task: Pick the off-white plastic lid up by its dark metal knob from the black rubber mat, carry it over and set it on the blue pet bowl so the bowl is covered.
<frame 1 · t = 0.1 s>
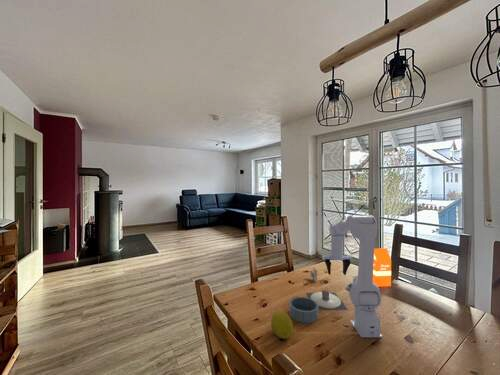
hand: (336, 274, 114), 10 cm above the table, fingers open, 7 cm apart
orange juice: (379, 283, 126), on the table
lemon: (281, 335, 83), on the table
ceramic mug: (358, 291, 117), on the table
rubber mat: (325, 301, 106), on the table
blue pet bowl: (303, 315, 95), on the table
architectural model: (314, 281, 129), on the table
white lid: (325, 300, 106), point 1 cm above the table, touching rubber mat
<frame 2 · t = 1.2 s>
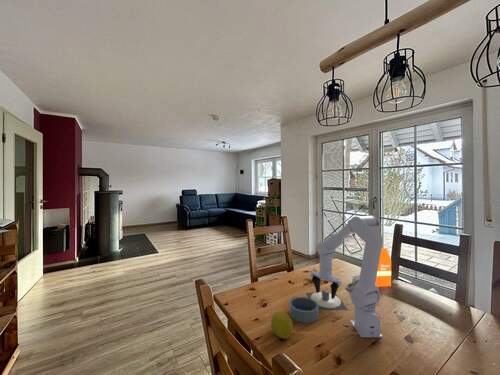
hand: (325, 295, 106), 3 cm above the table, fingers open, 7 cm apart
nothing on the table moved.
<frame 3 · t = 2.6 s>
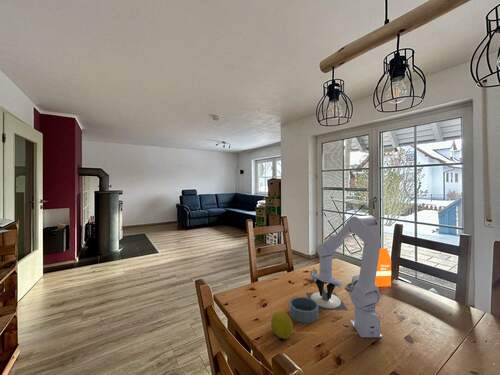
hand: (325, 296, 106), 2 cm above the table, fingers closed on white lid, 3 cm apart
white lid: (325, 300, 106), point 1 cm above the table, touching gripper, rubber mat
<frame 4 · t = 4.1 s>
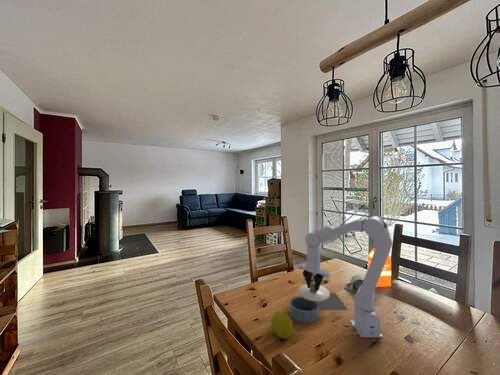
hand: (313, 288, 99), 9 cm above the table, fingers closed on white lid, 3 cm apart
white lid: (313, 292, 100), point 7 cm above the table, touching gripper
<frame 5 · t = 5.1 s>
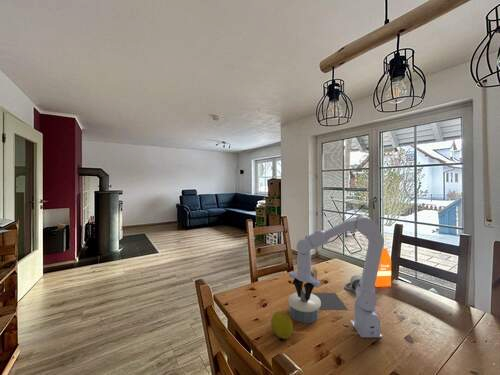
hand: (303, 298, 95), 8 cm above the table, fingers closed on white lid, 3 cm apart
white lid: (304, 302, 95), point 6 cm above the table, touching gripper
when the fingers open (8 cm above the table, at t = 5.7 s): white lid stays where it is, resting on blue pet bowl.
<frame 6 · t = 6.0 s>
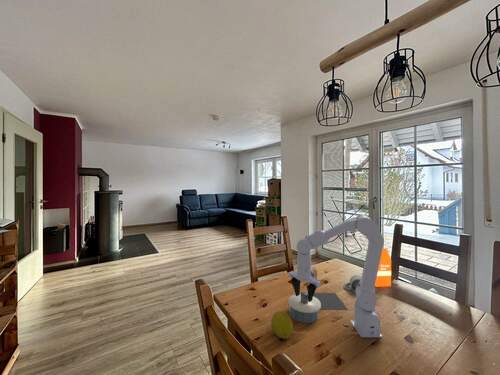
hand: (303, 298, 95), 8 cm above the table, fingers open, 6 cm apart
white lid: (304, 303, 95), point 5 cm above the table, touching blue pet bowl
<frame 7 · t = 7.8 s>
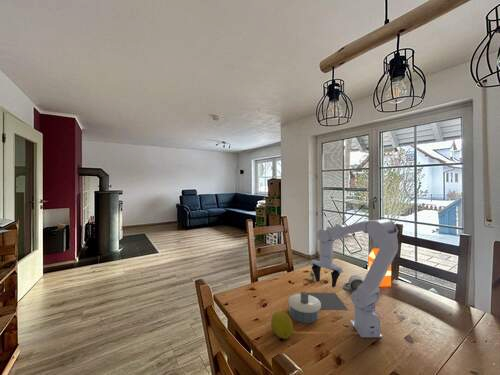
hand: (325, 283, 102), 10 cm above the table, fingers open, 7 cm apart
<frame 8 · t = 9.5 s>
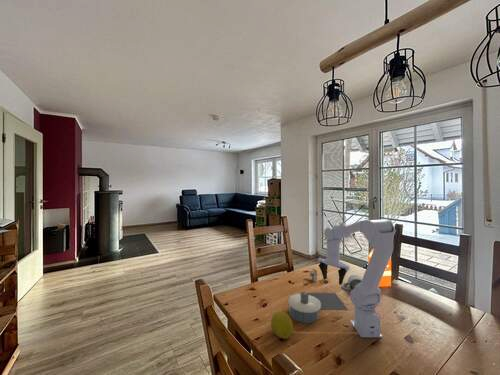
hand: (332, 281, 105), 10 cm above the table, fingers open, 7 cm apart
at the end: white lid 0.6 cm off-centre on the blue pet bowl, point 5.0 cm above the blue pet bowl's base; white lid tilted 0°; the gripper is holding nothing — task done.
